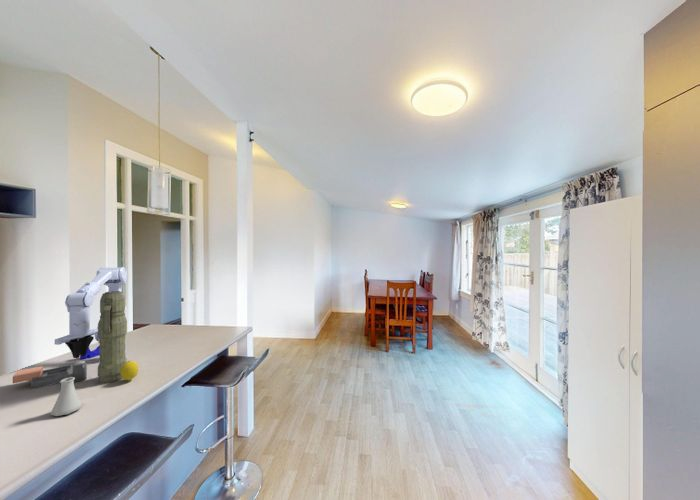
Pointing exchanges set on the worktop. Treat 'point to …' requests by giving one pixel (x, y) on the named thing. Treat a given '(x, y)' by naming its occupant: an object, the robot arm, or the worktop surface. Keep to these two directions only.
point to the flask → (67, 399)
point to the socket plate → (52, 376)
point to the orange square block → (27, 374)
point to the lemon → (129, 370)
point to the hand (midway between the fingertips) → (79, 356)
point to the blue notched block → (91, 353)
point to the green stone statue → (111, 336)
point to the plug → (80, 371)
